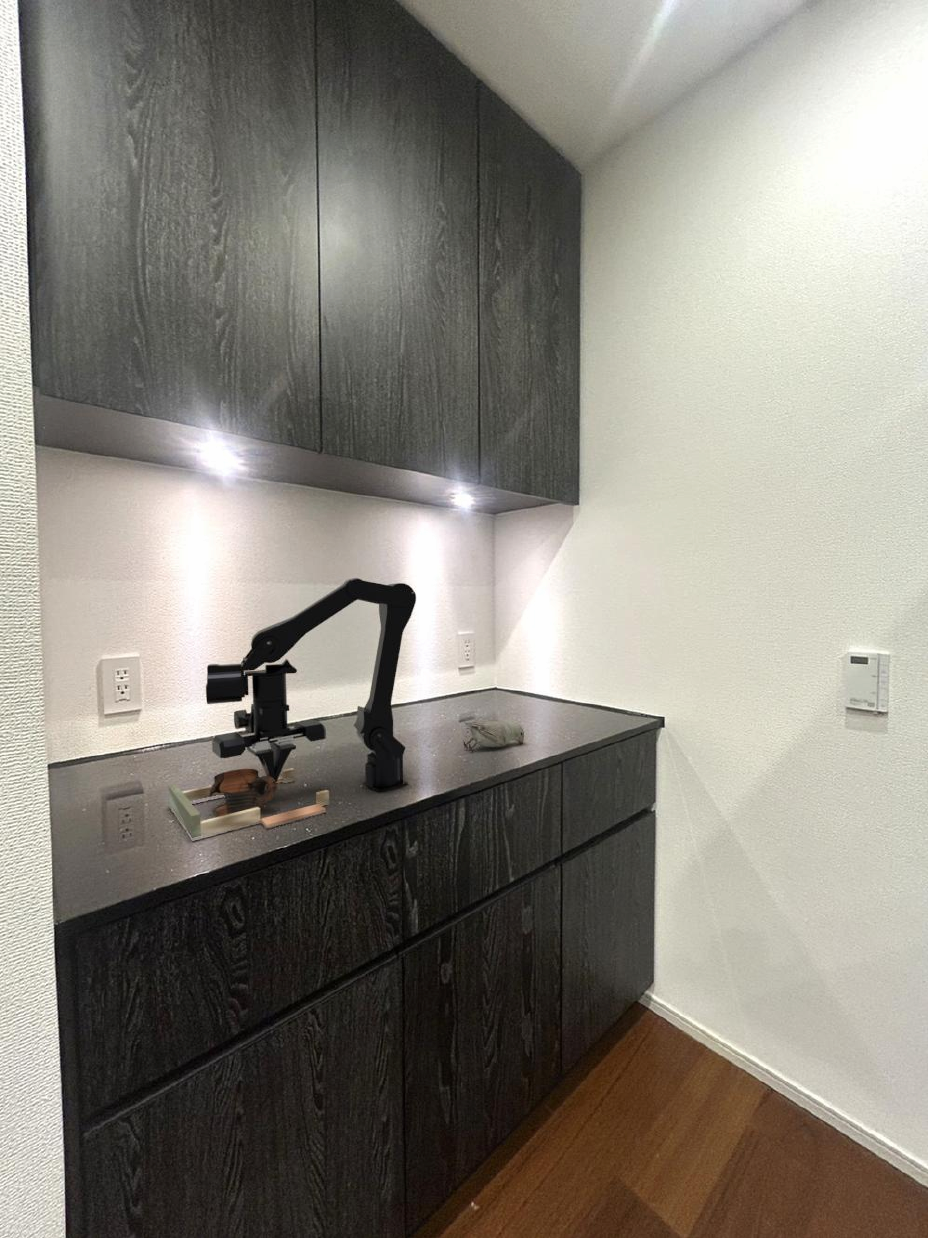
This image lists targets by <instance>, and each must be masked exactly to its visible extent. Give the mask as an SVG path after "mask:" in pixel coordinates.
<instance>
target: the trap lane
mask: <svg viewBox="0 0 928 1238" xmlns="http://www.w3.org/2000/svg"><path fill="white" fill-rule="evenodd" d="M281 772H282V773H281V774H282V777H281V776H280V775H279V777H278V780H277V782H278V781H284V782H287V781H291V780H294V781H295V768H293V767H291V768H286V769H282V770H281ZM212 785H213V784H212ZM212 785H211V784H210V785H207V786H203V787H197V788H192V789H188V790H183V791H182V790H181V788H180V787H179V786H178V785H177V784H173V785H168V806H169V805H170V806H171V808H173V810H174V811H175V813H176V815H177V816H178V818H179V820H180V821H181V822H182V824H183V825H184V826H185V828H186V830H187V831H188V833H189V834H190V835H191V837H192V838H194V837H197V836H201V835H207V834H212V833H216V832H220V831H224V830H229V829H233V828H237V827H240V826H245V825H248V824H252V823H256V822H259V821H261V822H262V823H263V824H264V825H265V826H266V827H270V826H274V825H278V824H282V823H285V822H288V821H295V820H298V819H302V818H305V817H308V816H312V815H316V814H319V813H322V812H326V813H327V811H326V810H327V809H326V808H325V807H322V806H324V805H328V804H329V805H330V791H329V790H327V789H325V790H321V791H317V792H315V804H312V805H309V806H305V807H301V808H300V807H299V808H298V809H293V810H290V811H285V812H282V813H278V814H275V815H270V816H267V817H263V818H261V808H259V807H258V806H255V808H252V809H248V810H244V811H240V812H236V813H232V814H228V815H224V816H220V817H212V818H209V819H205V820H201V813H200V812H199V811H198V809H196V806H194V805H192V803H191V802H190V801H193V800H198V799H202V798H207V797H212V796H216V795H224V793H213V795H211V796H210V795H209V794H210V790H211V787H212Z"/></svg>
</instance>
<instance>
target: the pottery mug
mask: <svg viewBox="0 0 928 1238" xmlns="http://www.w3.org/2000/svg"><path fill="white" fill-rule="evenodd" d="M213 779H214V782H213V784H212V787H211V790H210V794H209V795H210V796H211V795H213V793H224V796H225V798H224V801H225V803H226V804H224V805H222V806H220V807H217V808H216V809H215V813H216V816H217V817H220V816H224V815H228V814H232V813H236V812H240V811H244V810H248V809H252V808H256V807H259V808H260V809H262V808H263V807H264V806H265V804H266V802H269V801H270V800H271V799H272V798H273V797H274V795H275V793H276V790H277V788H278V786H277V784H276V781H275V780H274V778H272V777H270V776H266V775H262V776H259V771H258V770H257V769H254V768H238V769H233V770H229V771H225V772H222V773H218V774H216V775H214V777H213ZM266 785H267V786H266Z"/></svg>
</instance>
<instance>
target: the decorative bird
mask: <svg viewBox="0 0 928 1238" xmlns="http://www.w3.org/2000/svg"><path fill="white" fill-rule="evenodd" d="M463 724H464V725H466V726H468V727H470V728H469V731H470V732H471V736H472V737H471V738H470V739H469V741H468V742H467V743H466V742H465V741H463V746H464V748H463V749H466V750H469V751H470V752H471V753H472V754H475V753H474V750H473V748H474V747H476V746H477V745H479V746H480V747H481V746H482V747H486V748H500V747H505V746H507V745H508V744H509V743H511V742H512V741H514V742H518V743H519V744H521V745H523V743H524V741H525V731H524V728H523V726H522V725H521V724H520V723H519V722H518V721H516V720H515V721H514V720H509V721H502V720H501V721H500V720H499V721H498V720H497V721H495V720H493V721H490V720H489V721H468V722H467V721H464V722H463ZM473 740H474V742H475V743H474V744H473V745H472V746H471V744H470V743H471V741H473ZM467 745H468V746H467Z"/></svg>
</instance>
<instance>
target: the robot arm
mask: <svg viewBox="0 0 928 1238" xmlns="http://www.w3.org/2000/svg"><path fill="white" fill-rule="evenodd" d="M356 601H363V602H365V603H366V602H367V603H372V604H376V605H378V615H379V623H380V632H379V636H378V637H379V639H378V644H377V650H376V657H375V661H374V667H373V668H374V669H373V674H372V679H371V685H370V691H369V697H368V700H367V702H366V704H365V706H364V707H363V706H359V705H357V707H356V709H357V711H356V719H355V723H354V724H353V727H354V728H355V729H356V735H357V736H358V739H360V741H362V743H363V744H364V745H365V747H366V748H367V749H369V750H370V751H371V752H370V753H368V754H367V755H366V759H367V760H366V761H367V762H366V763H365V764H364V766H365V771H364V772H365V774H364V775H365V780H363V784H364V785H366V786H367V787H369V788H371V789H373V790H375V791H377V792H378V793H382V792H386V791H391V790H393V789H394V790H395V789H396V788H401V787H405V786H408V785H409V782H408V781H407V780H404V754H405V750H406V746H405V745H404V744H402V742H400V741H399V740H398V739H397V738H396V737H395V735H394V718H393V717H394V716H393V708H392V699H393V692H394V687H395V682H396V675H397V670H398V669H397V668H398V665H399V664H398V663H399V662H398V661H399V657H400V651H401V645H402V639H403V633H404V631H405V628H406V626H407V624H408V623H409V621H410V619H411V617H412V614H413V611H414V608H415V606H416V601H417V594H416V592H415V590H414V589H413V587H411V586H410V585H409V584H406V583H404V582H403V583H402V582H400V583H399V582H398V583H390V584H382V583H377V582H373V581H367V580H362V578H361V579H360V578H359V577H357V578H356V577H355V578H349V579H346V581H344V583H342V584H341V585H340V586H338V587H337V588H335V589H333V590H332V591H331V592H329V593H327V594H326V595H324V596H323V597H321V598H319V599H318V600H316V601H315V602H314V603H312V604H311V605H309V606H307V607H306V608H304V609H303V610H301V611H299V612H298V613H297V614H296V613H295V615H294V616H292V617H289V618H286V619H284V620H281V621H279V622H277V623H274V624H272V625H269V626H267V627H264V628H262V629H261V630H258V631H257V632H256V633H255V634H254V635H253V636H252V638H251V642H250V647H251V648H250V650H249V651H248V653H247V654H246V655H245V656H244V657H243V658H242V660H241V662H240V663H229V664H227V663H226V664H217V663H213V664H212V663H211V664H210V663H209V664H208V665H207V667H206V669H207V670H206V671H207V674H206V675H207V676H206V685H205V696H206V704H207V705H214V704H215V705H216V704H227V703H239V702H243V698H245V697H246V696H249V693H250V692H249V677H251V679H252V687H251V688H252V703H251V704H250V705H251V706H250V712H248V711H247V710H246V709H241V710H235V711H233V723H234V724H233V725H234V729H236V730H241V729H245V734H252V735H245V736H243V735H240V734H239V733H238V732H229V733H225V734H224V733H223V734H218V735H215V736H214V737H213V739H212V742H211V743H212V744H211V745H212V746H211V747H212V749H211V750H212V752H213V753H214V755H216V756H218V758H220V759H229V758H234V757H239V756H242V754H243V753H244V752H245V751H246V750H247V751H248V752H249V753H250V754H252V755H254V756H255V757H257V758H258V760H259V761H260V764H261V765H262V768H263V771H264V773H265V776H270V777H272V778H274V780H275V781H276V782H277V780H278V777H279V776H280V775H281V774H282V773H281V772H282V770H283V767H284V766H285V763H286V761H287V759H288V757H289V756H290V754H291V752H292V751H293V750H296V749H297V745H295V744H294V739H297V738H298V739H299V738H306V739H307V740H308V741H310V742H316V741H321V740H325V739H326V738H327V733H326V732H327V729H326V727H325V725H324V724H323V723H321V722H318V721H316V720H315V719H308V720H302V721H296V722H295V723H294V725H293V727H292V728H291V727H289V726H288V712H290V704H288V703H287V702H288V699H287V697H288V696H287V694H288V693H287V674H288V675H289V674H297V672H298V670H297V669H298V668H296V667H295V666H293V665H292V664H291V663H290V660H288V659H285V660H283V662H282V663H276V662H278V661H280V659H282V658H283V657H284V656H285V655H286V654H287V653H288V652H290V650H291V649H293V648H294V646H296V645H297V643H298V642H299V641H300V640H301V639H302V638H303V637H304V636H305V635H306V634H307V633H309V632H310V631H312V630H314V629H315V628H316V627H318V626H319V625H321V624H323V623H324V622H325V621H328V620H329V619H330V618H331V617H334V616H335V615H336V614H338V613H339V612H341V611H342V610H344V609H345V608H347V607H349V606H350V605H351V604H353V603H354V602H356ZM265 663H267V664H265ZM272 663H273V664H272ZM275 663H276V664H275ZM263 664H265V667H264V669H260V670H258V668H260V667H261V666H262V665H263Z"/></svg>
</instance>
